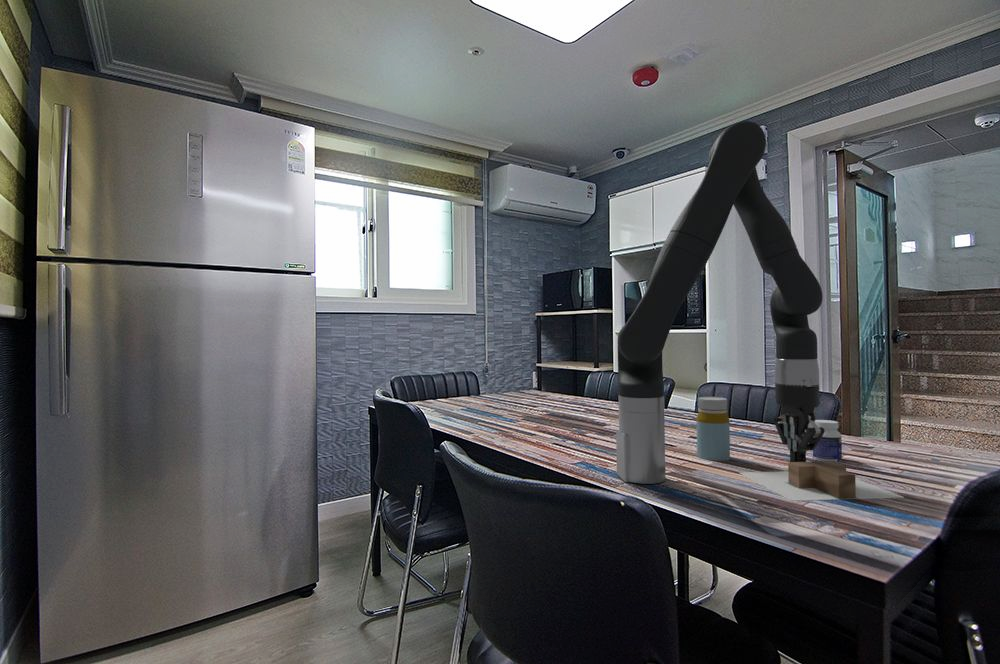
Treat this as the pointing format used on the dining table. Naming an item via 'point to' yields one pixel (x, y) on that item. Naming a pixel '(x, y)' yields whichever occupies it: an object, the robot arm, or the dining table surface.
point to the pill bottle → (828, 442)
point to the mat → (782, 487)
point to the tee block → (823, 478)
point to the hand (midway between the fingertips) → (798, 469)
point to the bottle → (713, 429)
